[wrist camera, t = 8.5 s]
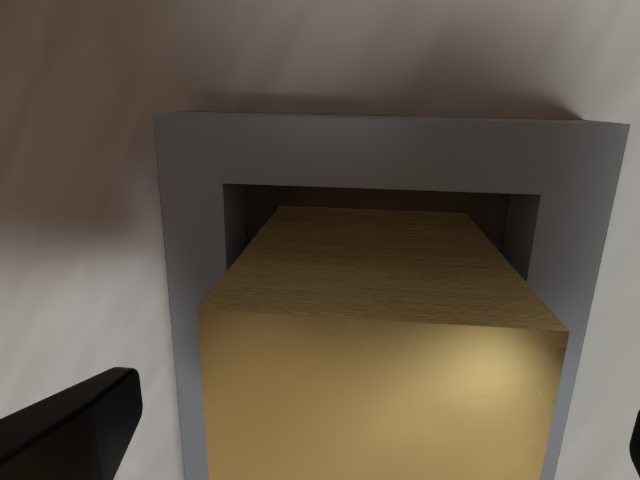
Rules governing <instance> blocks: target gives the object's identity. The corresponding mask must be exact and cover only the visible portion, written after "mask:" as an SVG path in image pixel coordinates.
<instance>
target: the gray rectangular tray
mask: <svg viewBox="0 0 640 480" xmlns="http://www.w3.org/2000/svg"><path fill="white" fill-rule="evenodd" d="M153 119H154V131H155V142H156V154H157V165H158V176H159V188H160V199H161V211H162V222H163V233H164V245H165V256H166V267H167V279H168V290H169V302H170V313H171V324H172V336H173V347H174V358H175V370H176V381H177V393H178V404H179V415H180V427H181V438H182V450H183V461H184V472H185V480H209V477H208V463H207V448H206V434H205V420H204V405H203V391H202V377H201V363H200V348H199V334H198V320H197V308H198V307H199V306H200V304H201V303H202V302H203V301H204V299H205V298H206V297H207V296H208V294H209V293H210V292H211V291H212V289H213V288H214V287H215V286H216V284H217V283H218V282H219V281H220V279H221V278H222V277H223V276H224V274H225V273H226V272H227V271H228V269H229V268H230V267H231V266H232V264H233V263H234V262H235V261H236V259H237V258H238V257H239V256H240V254H241V253H242V252H243V251H244V249H245V248H246V247H247V230H246V198H245V184H255V185H283V186H311V187H339V188H367V189H396V190H424V191H452V192H480V193H508V194H510V199H509V206H508V213H507V220H506V227H505V234H504V241H503V247H502V255H503V256H504V257H505V258H506V260H507V261H508V262H509V263H510V264H511V265H512V266H513V268H514V269H515V270H516V271H517V272H518V273H519V274H520V276H521V277H522V278H523V279H524V280H525V281H526V282H527V283H528V285H529V286H530V287H531V288H532V289H533V290H534V291H535V293H536V294H537V295H538V296H539V297H540V298H541V299H542V301H543V302H544V303H545V304H546V305H547V306H548V307H549V308H550V310H551V311H552V312H553V313H554V314H555V315H556V316H557V318H558V319H559V320H560V321H561V322H562V323H563V324H564V326H565V327H566V328H567V329H568V330H569V331H570V333H569V338H568V343H567V348H566V353H565V358H564V363H563V368H562V373H561V377H560V382H559V387H558V392H557V397H556V402H555V407H554V412H553V417H552V422H551V427H550V432H549V437H548V442H547V447H546V451H545V456H544V461H543V466H542V471H541V476H540V480H554V477H555V472H556V468H557V463H558V458H559V454H560V449H561V444H562V440H563V435H564V430H565V426H566V421H567V416H568V412H569V407H570V402H571V398H572V393H573V388H574V384H575V379H576V374H577V370H578V365H579V360H580V356H581V351H582V346H583V342H584V337H585V332H586V328H587V323H588V318H589V314H590V309H591V304H592V300H593V295H594V290H595V286H596V281H597V277H598V272H599V267H600V263H601V258H602V253H603V249H604V244H605V239H606V235H607V230H608V225H609V221H610V216H611V211H612V207H613V202H614V197H615V193H616V188H617V183H618V179H619V174H620V169H621V165H622V160H623V155H624V151H625V146H626V141H627V137H628V132H629V127H630V124H621V123H611V122H600V121H589V120H560V119H514V118H468V117H423V116H377V115H332V114H286V113H241V112H195V111H184V112H169V113H154V114H153Z"/></svg>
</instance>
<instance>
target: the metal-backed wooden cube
mask: <svg viewBox="0 0 640 480" xmlns="http://www.w3.org/2000/svg"><path fill="white" fill-rule="evenodd" d="M197 320H198V334H199V348H200V363H201V377H202V391H203V405H204V420H205V434H206V448H207V463H208V477H209V480H540V476H541V471H542V466H543V461H544V456H545V451H546V447H547V442H548V437H549V432H550V427H551V422H552V417H553V412H554V407H555V402H556V397H557V392H558V387H559V382H560V377H561V373H562V368H563V363H564V358H565V353H566V348H567V343H568V338H569V333H570V331H569V330H568V329H567V328H566V327H565V326H564V324H563V323H562V322H561V321H560V320H559V319H558V318H557V316H556V315H555V314H554V313H553V312H552V311H551V310H550V308H549V307H548V306H547V305H546V304H545V303H544V302H543V301H542V299H541V298H540V297H539V296H538V295H537V294H536V293H535V291H534V290H533V289H532V288H531V287H530V286H529V285H528V283H527V282H526V281H525V280H524V279H523V278H522V277H521V276H520V274H519V273H518V272H517V271H516V270H515V269H514V268H513V266H512V265H511V264H510V263H509V262H508V261H507V260H506V258H505V257H504V256H503V255H502V254H501V253H500V252H499V251H498V249H497V248H496V247H495V246H494V245H493V244H492V243H491V241H490V240H489V239H488V238H487V237H486V236H485V235H484V233H483V232H482V231H481V230H480V229H479V228H478V227H477V226H476V224H475V223H474V222H473V221H472V220H471V219H470V218H469V216H468V215H467V214H466V213H451V212H425V211H399V210H373V209H347V208H322V207H296V206H279V207H278V209H277V210H276V211H275V212H274V214H273V215H272V216H271V217H270V219H269V220H268V221H267V222H266V224H265V225H264V226H263V227H262V228H261V229H260V231H259V232H258V233H257V234H256V236H255V237H254V238H253V239H252V241H251V242H250V243H249V244H248V246H247V247H246V248H245V249H244V251H243V252H242V253H241V254H240V256H239V257H238V258H237V259H236V261H235V262H234V263H233V264H232V266H231V267H230V268H229V269H228V271H227V272H226V273H225V274H224V276H223V277H222V278H221V279H220V281H219V282H218V283H217V284H216V286H215V287H214V288H213V289H212V291H211V292H210V293H209V294H208V296H207V297H206V298H205V299H204V301H203V302H202V303H201V304H200V306H199V307H198V308H197Z"/></svg>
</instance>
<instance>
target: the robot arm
mask: <svg viewBox="0 0 640 480" xmlns="http://www.w3.org/2000/svg"><path fill="white" fill-rule="evenodd" d="M142 409H143V404H142V395H141V386H140V378H139V373H138V371H137V370H136V369H134V368H124V367H114V368H111V369H109V370H107V371H105V372H102V373H100V374H98V375H96V376H94V377H91V378H89V379H87V380H85V381H83V382H81V383H78V384H76V385H74V386H72V387H70V388H67V389H65V390H63V391H61V392H59V393H56V394H54V395H52V396H50V397H48V398H45V399H43V400H41V401H39V402H37V403H34V404H32V405H30V406H28V407H26V408H24V409H21V410H19V411H17V412H15V413H13V414H10V415H8V416H6V417H4V418H2V419H0V480H113V479H114V477H115V474H116V472H117V470H118V468H119V466H120V463H121V461H122V459H123V457H124V454H125V452H126V450H127V448H128V445H129V443H130V441H131V439H132V436H133V434H134V432H135V430H136V427H137V425H138V423H139V421H140V418H141V415H142ZM629 450H630V456H631V459H632V462H633V464H634V466H635V468H636V470H637V473H638V475H639V477H640V410H639V412H638V415H637V418H636V422H635V426H634V429H633V433H632V437H631V441H630V448H629Z"/></svg>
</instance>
